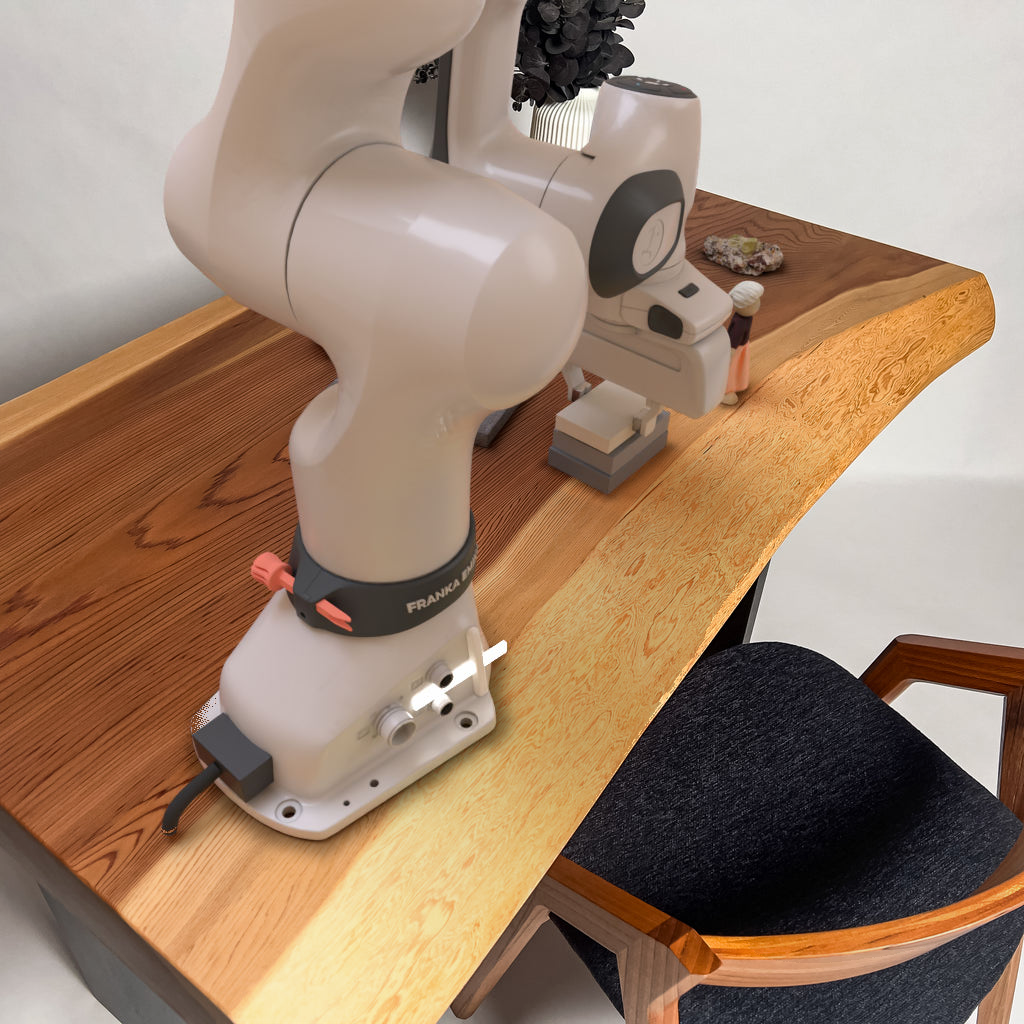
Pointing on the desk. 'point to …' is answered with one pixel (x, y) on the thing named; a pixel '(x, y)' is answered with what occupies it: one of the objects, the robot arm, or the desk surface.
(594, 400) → the white flat block
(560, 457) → the grey stack
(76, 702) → the desk surface
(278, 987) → the desk surface
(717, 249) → the mineral rock
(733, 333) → the grandmother figurine
